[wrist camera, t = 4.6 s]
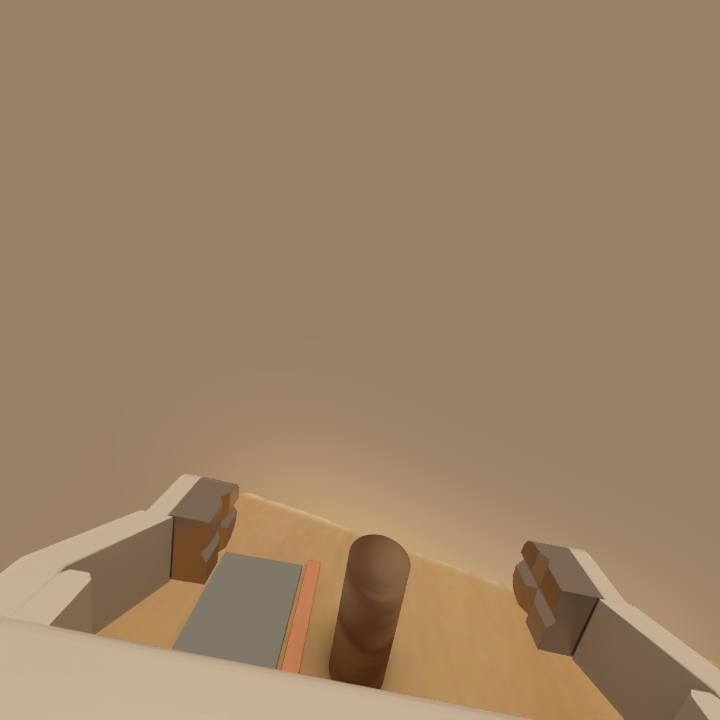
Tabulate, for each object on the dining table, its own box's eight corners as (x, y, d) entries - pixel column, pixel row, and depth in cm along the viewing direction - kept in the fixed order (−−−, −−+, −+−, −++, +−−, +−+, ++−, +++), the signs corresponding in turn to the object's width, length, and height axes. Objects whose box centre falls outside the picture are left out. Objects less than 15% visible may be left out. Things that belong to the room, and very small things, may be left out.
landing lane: (320, 564, 40) (320, 561, 40) (266, 835, 21) (267, 830, 21) (228, 548, 40) (229, 545, 40) (90, 803, 21) (90, 797, 21)
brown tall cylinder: (383, 642, 33) (407, 539, 30) (385, 705, 28) (413, 591, 25) (333, 633, 33) (351, 530, 30) (325, 695, 28) (346, 579, 25)
